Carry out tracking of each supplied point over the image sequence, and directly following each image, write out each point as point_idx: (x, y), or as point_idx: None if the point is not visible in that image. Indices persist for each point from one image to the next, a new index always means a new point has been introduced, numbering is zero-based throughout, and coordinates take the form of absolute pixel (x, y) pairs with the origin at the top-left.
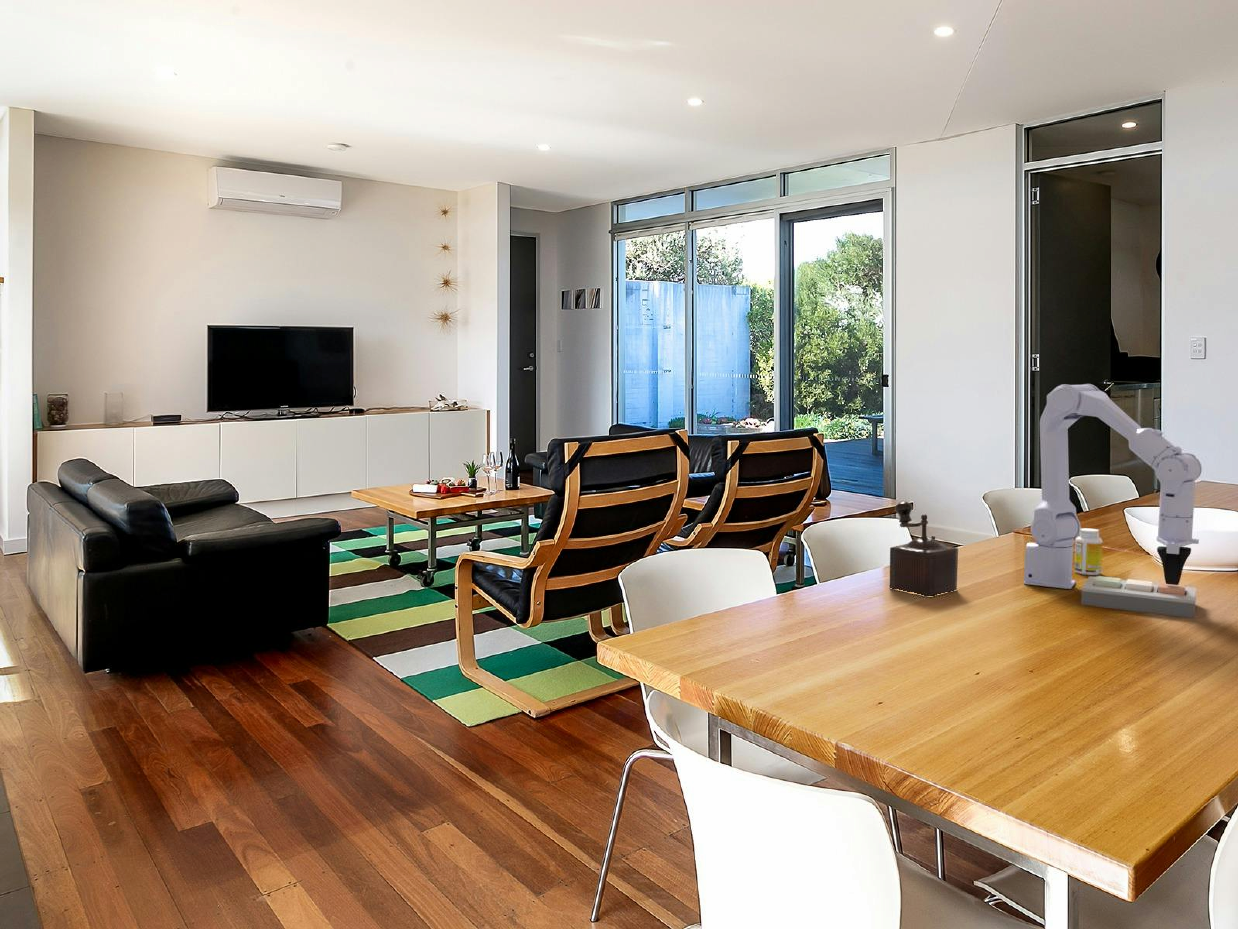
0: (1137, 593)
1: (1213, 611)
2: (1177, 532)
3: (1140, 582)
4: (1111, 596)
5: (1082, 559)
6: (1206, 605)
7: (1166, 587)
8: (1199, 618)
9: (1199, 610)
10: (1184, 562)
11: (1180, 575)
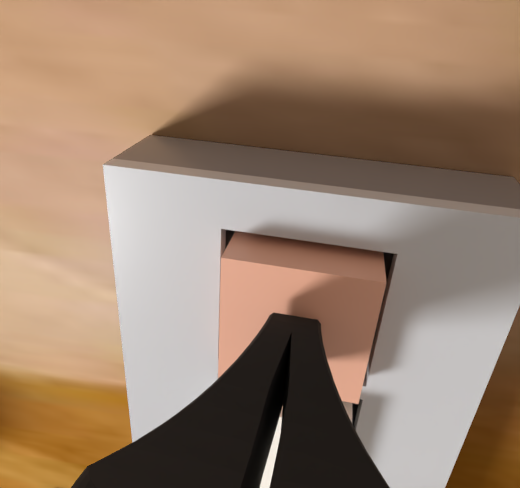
0: (433, 464)
1: (271, 49)
2: None
3: (273, 457)
4: None
5: None
6: (132, 76)
7: (358, 369)
8: (499, 145)
9: (283, 126)
10: (376, 469)
11: (328, 365)
